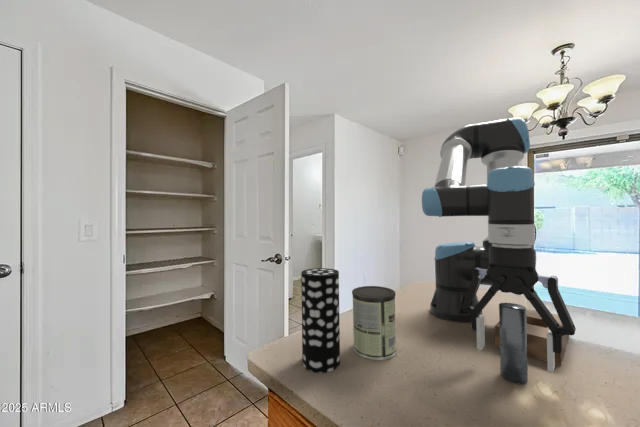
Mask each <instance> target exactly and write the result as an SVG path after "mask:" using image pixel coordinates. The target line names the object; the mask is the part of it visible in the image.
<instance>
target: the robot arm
mask: <svg viewBox="0 0 640 427" xmlns="http://www.w3.org/2000/svg"><path fill="white" fill-rule="evenodd" d="M530 142H531V141H530V133H529V129H528V125H527V122H526V120H525V119H524V118H523V117H519V116H518V117H511V118H508V117H505V118H503V119H498V120H492V121H486V122H478V123H473V124H468V125H465V126H463V127H460V128H458V129H457V130H455V131H454V132H452V133H451V134H450V135H449V136H448V137H447V138H446V139H445V141H443V143H442V145H441V148H440V151H439V152H440V153H439V154H440V158H441V160H440V164H439V167H438V171H437V174H436V175H437V176H436V179H435V182H434V186H431V187H427V188H424V189H423V190H422V194H421V208H422V212H423V214H424V215H425V216H427V217H439V218H441V217H443V218H444V217H478V216H479V217H487V236H486V237H485V238H484V239H483V240H482V246H476V244H475V242H474V241H457V242H456V241H455V242H447V243H441V244H439V245H437V246H436V247H435V249H434V268H435V271H434V272H435V289H434V291H433V292H434V293H433V295H432V298H431V302H430V305H429V306H430V307H429V309H430V314H432V315H434V316H435V317H437V318H440V319H442V320H446V321H449V322H450V321H451V322H457V323H471V329H472V332H476V349H477V350H479V351H482V349H483V348H485V345H486V340H485V337H486V336H485V333H486V332H485V315H484V314H483V310H484V309H485V307H486V306H487V305H488V304H489V303H490V302H491V300H492V299H493V297H494V296H495V295H496V294H497V293H498V292H501V293H506V294H507V293H511V294H514V295H517V296H521V295H523V296H524V297H525V299H526V300H527V301H529V303H530V305H531V306H532V307H533V308H534V310H536V311H537V313H538V314H539V315H540V317H541V318H542V320H543V321H544V322H545V324H546V325H547V326H548V328H549V329H550V330H549V331H548V333H547V361H546V362H547V371H548V372H550V373H554V371H555V367H556V364H555V353H559V354H560V353H561V352H562V336H563V335H569V336H571V337H572V336H574V335H575V333H576V328H577V327H576V326H575V323H574V321H573V319H572V317H571V314H570V312H569V310H568V307H567V305H566V304H565V301H564V299H563V297H562V295H561V291H560V290H559V279H558V277H557V276H555V275H551V276H548V275H540V274H538V272H537V268H536V266H537V251H536V249H534V247H532V246H533V245H535V244H536V234H535V233H536V230H535V229H536V227H535V226H536V224H535V219H534V218H535V217H534V216H535V214H534V213H535V211H534V209H535V206H534V203H535V201H534V197H535V196H534V189H535V188H534V187H535V181H534V173H533V169H532V168H530V167H528V166H522V165H521V166H520V165H519V163H520V162H521V161H522V160H524V158H525V154H526V153H528V152H529V151H530V147H531V144H530ZM480 158H481V164H483V166H485V167H486V184H474V185H472V184H471V185H470V184H469V185H467V184H466V180H467V179H466V176H467V170H468V161H469V160H470V159H480ZM538 282H539V283H541V284H542V286H543V288H545V289H546V290H547V293H548V295H549V297H550V300H551V302H552V304H553V307H554V309H555V312H556V313H557V315H558V316H559V318H560V320H561V323H562V325H563V326H560V325H559V324H558V322H557V321H556V319H555V318H554V317H553V315H552V314H553V313H552V312H551V311H550V310H549V308H548V307H547V306H546V304H544V302H543V301H542V300H541V298H540V296H539V295H538V293H537V291H536V290H535V289H534V285H536V284H537V283H538ZM481 285H483V286H490V287H489V288H488V289H487V291H486V293H485V294H484V295H483V296H482V297H481V299H480V300H479V298H478V296H477V295H478V294H477V293H478V291H479V287H480V286H481ZM551 313H552V314H551Z"/></svg>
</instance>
